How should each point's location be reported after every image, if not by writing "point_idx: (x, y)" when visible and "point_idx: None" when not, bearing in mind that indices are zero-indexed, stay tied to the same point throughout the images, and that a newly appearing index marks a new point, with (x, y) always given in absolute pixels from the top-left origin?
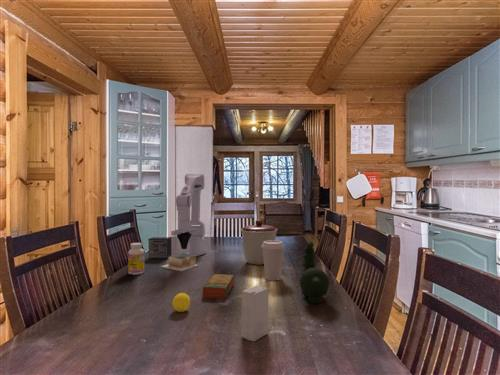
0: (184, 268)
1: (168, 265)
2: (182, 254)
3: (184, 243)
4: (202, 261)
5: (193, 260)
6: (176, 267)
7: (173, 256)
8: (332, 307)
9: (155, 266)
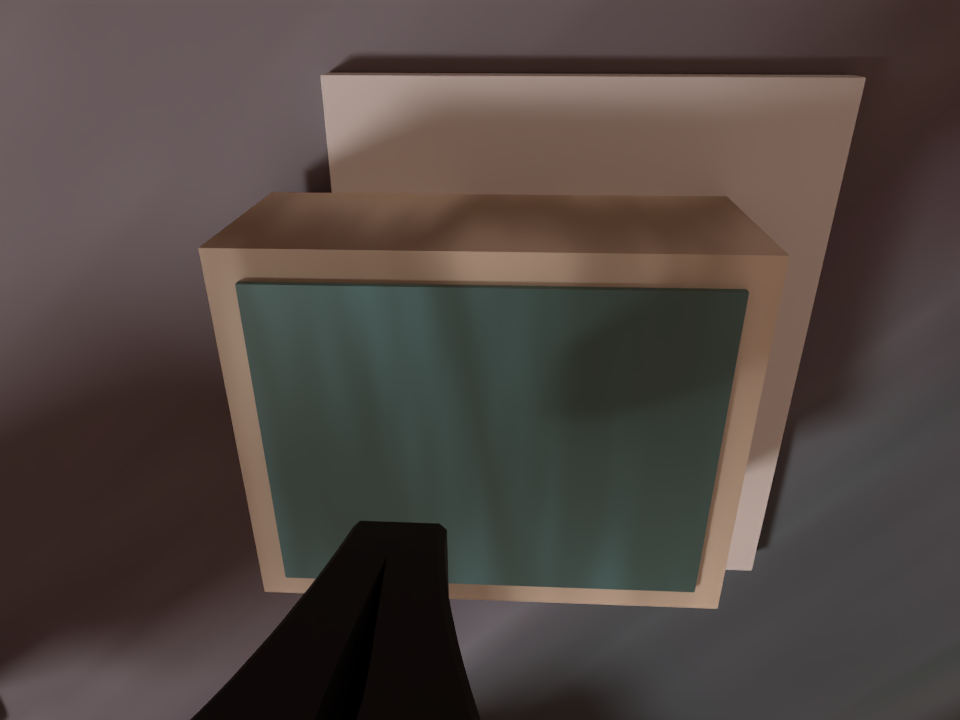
0: (720, 111)
1: None
2: None
3: (463, 667)
4: (18, 263)
5: (330, 216)
6: None
7: (643, 561)
8: None
9: (733, 638)
